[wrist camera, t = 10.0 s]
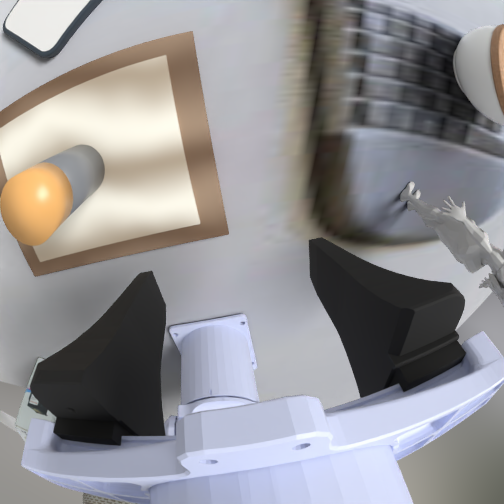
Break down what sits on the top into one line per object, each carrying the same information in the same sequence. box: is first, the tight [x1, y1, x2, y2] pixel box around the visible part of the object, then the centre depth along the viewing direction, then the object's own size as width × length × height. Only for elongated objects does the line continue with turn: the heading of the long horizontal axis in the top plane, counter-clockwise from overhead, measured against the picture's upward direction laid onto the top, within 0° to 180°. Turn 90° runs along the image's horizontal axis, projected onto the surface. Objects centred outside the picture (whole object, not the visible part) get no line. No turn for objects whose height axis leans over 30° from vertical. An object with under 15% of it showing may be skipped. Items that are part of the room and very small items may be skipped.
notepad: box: [0, 31, 229, 277], centre depth 18 cm, size 16×20×1 cm
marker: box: [0, 144, 105, 246], centre depth 14 cm, size 4×4×8 cm
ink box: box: [15, 357, 57, 442], centre depth 25 cm, size 9×5×12 cm, turn 153°
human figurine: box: [400, 182, 504, 306], centre depth 16 cm, size 12×4×18 cm, turn 51°
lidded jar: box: [453, 24, 504, 126], centre depth 13 cm, size 11×11×9 cm
